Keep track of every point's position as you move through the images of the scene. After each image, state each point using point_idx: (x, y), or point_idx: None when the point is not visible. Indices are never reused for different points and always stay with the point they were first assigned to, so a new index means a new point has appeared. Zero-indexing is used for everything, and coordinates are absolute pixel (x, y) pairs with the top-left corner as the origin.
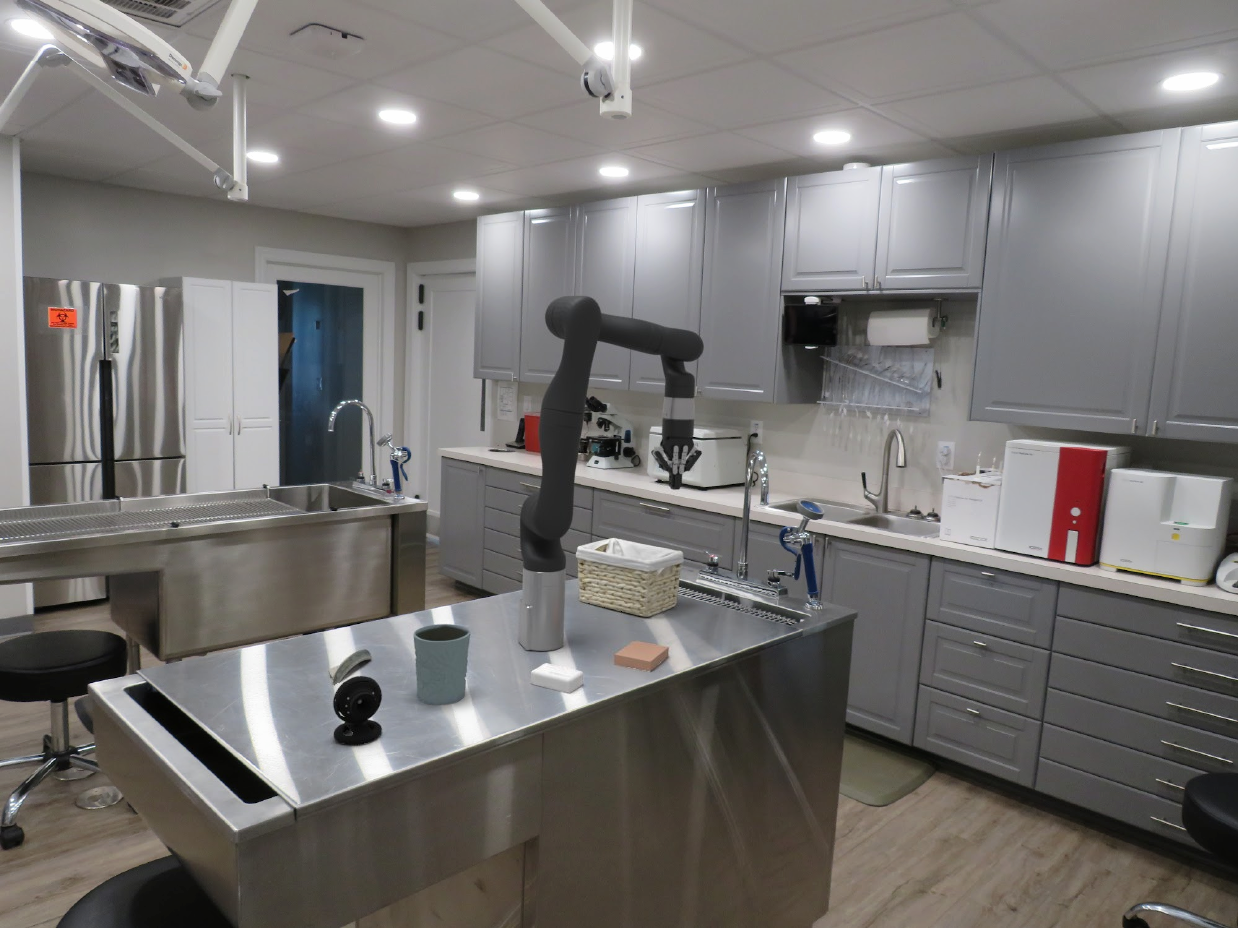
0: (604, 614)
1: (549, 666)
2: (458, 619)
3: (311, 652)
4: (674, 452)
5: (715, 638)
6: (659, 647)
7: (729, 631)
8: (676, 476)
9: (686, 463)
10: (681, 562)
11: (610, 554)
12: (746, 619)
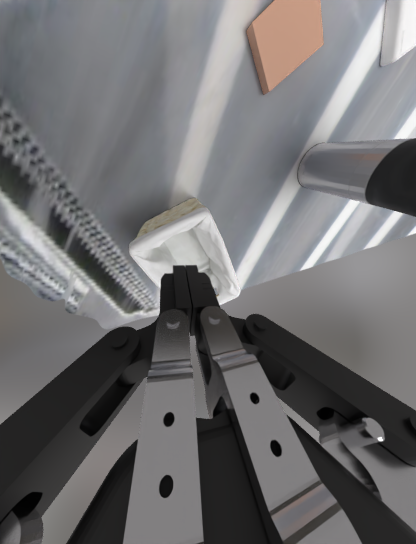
0: (222, 224)
1: (406, 38)
2: (313, 247)
3: (406, 217)
4: (325, 503)
5: (144, 72)
6: (263, 32)
7: (109, 93)
8: (198, 299)
9: (107, 402)
10: (135, 239)
11: (230, 261)
12: (60, 137)
